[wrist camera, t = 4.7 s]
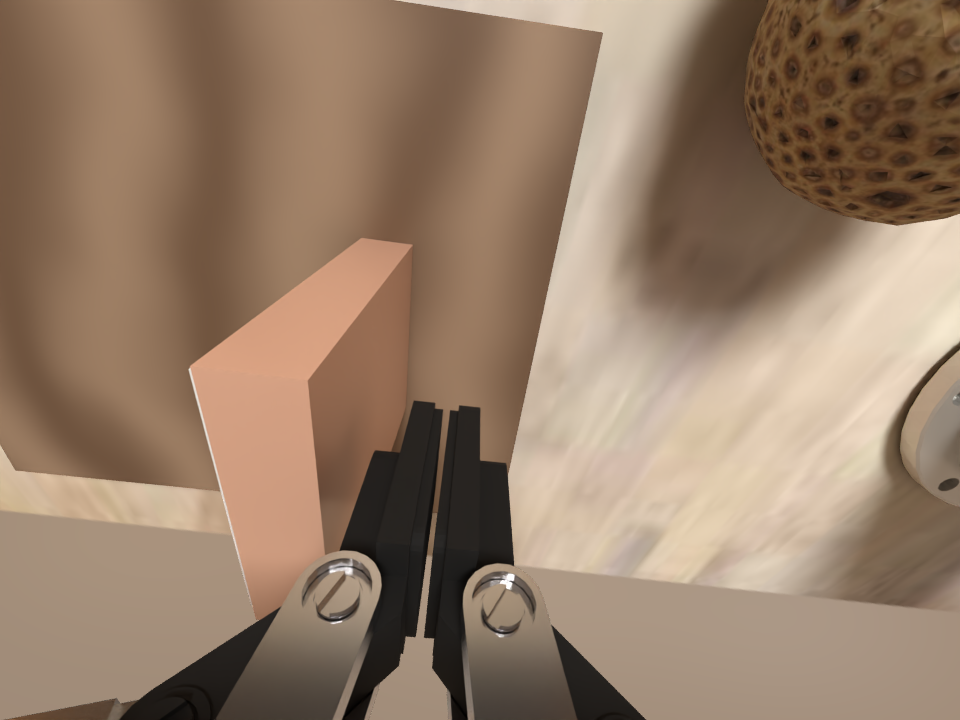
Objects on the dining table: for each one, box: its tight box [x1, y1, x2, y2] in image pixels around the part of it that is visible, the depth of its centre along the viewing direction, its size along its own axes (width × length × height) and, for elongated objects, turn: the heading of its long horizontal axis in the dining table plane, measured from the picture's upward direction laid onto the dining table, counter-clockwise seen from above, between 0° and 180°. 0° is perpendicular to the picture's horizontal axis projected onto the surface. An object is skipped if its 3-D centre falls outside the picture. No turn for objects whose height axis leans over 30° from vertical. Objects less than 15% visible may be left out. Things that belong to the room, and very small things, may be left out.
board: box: [0, 0, 603, 513], centre depth 16 cm, size 24×20×2 cm
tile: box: [188, 238, 413, 620], centre depth 12 cm, size 2×7×9 cm, turn 173°
